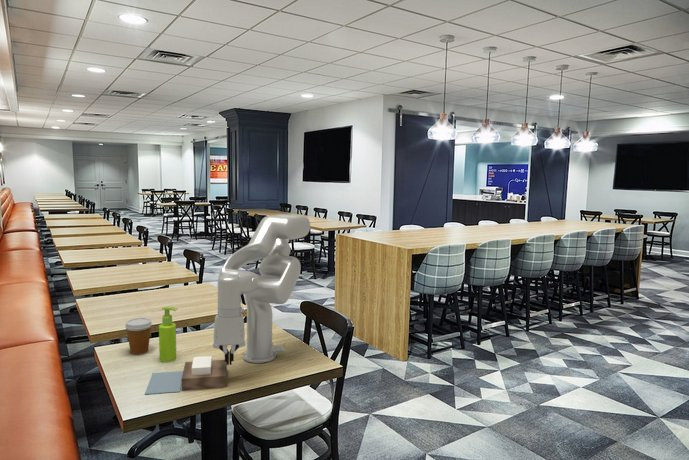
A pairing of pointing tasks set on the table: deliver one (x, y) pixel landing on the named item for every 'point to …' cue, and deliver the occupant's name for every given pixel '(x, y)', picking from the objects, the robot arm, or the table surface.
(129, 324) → the disposable coffee cup
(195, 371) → the tile
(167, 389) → the mat
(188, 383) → the brown wooden block
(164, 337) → the soap dispenser
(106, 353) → the table surface
